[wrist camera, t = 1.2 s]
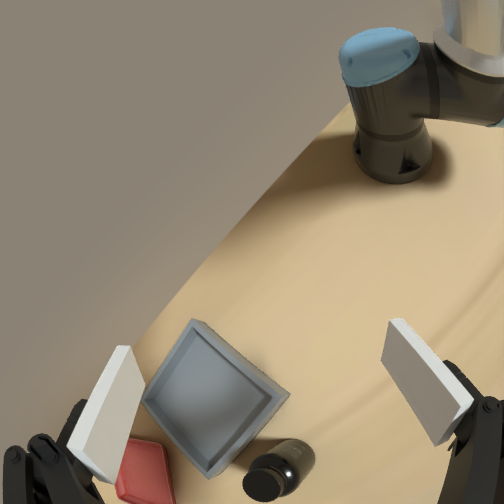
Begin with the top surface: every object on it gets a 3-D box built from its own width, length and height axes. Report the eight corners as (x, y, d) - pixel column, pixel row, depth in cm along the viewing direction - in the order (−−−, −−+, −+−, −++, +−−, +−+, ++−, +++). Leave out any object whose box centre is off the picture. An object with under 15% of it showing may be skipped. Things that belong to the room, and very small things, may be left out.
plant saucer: (172, 441, 42) (160, 443, 39) (186, 516, 33) (176, 521, 31) (116, 431, 48) (104, 432, 45) (128, 496, 39) (117, 499, 37)
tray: (203, 321, 48) (191, 318, 45) (290, 394, 37) (282, 396, 34) (152, 399, 47) (139, 399, 44) (219, 474, 35) (208, 479, 32)
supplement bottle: (264, 452, 34) (223, 474, 25) (298, 430, 34) (266, 451, 24) (289, 483, 30) (255, 515, 21) (325, 462, 30) (302, 495, 20)
